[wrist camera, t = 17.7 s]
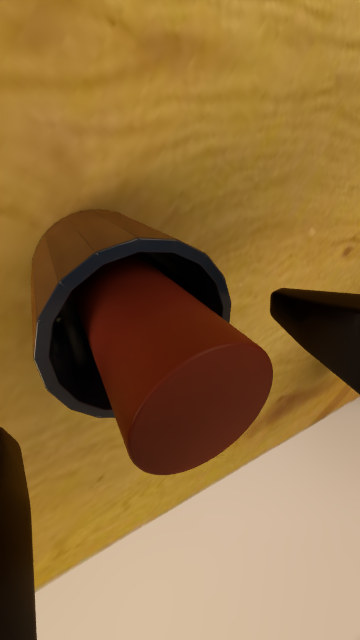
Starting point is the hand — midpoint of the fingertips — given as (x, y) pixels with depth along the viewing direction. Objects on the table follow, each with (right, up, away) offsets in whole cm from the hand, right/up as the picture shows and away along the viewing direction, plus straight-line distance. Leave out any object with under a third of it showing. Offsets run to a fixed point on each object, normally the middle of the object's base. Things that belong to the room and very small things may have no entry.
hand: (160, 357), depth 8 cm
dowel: (-3, +3, +6) cm, 8 cm away
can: (-4, +4, +6) cm, 8 cm away
